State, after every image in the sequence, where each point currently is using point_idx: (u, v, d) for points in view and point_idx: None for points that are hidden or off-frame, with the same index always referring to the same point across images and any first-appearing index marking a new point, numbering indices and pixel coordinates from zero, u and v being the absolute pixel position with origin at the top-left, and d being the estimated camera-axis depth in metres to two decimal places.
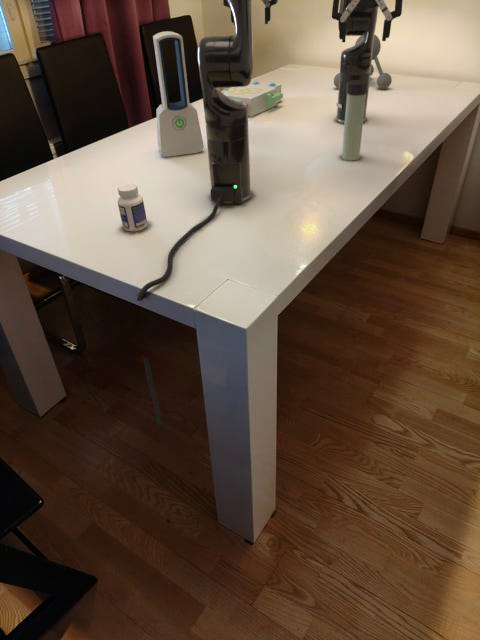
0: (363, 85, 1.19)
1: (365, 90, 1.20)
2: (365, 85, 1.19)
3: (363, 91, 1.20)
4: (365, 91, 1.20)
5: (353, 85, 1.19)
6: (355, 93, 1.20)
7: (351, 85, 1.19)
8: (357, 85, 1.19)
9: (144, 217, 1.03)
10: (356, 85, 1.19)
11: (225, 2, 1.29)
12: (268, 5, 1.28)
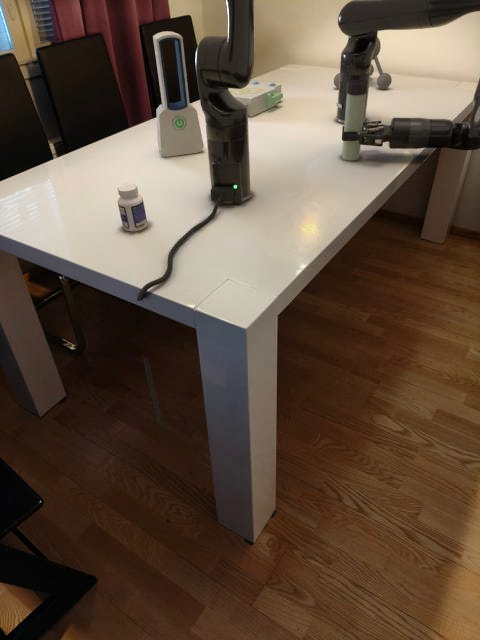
0: (363, 85, 1.19)
1: (365, 90, 1.20)
2: (365, 85, 1.19)
3: (363, 91, 1.20)
4: (365, 91, 1.20)
5: (353, 85, 1.19)
6: (355, 93, 1.20)
7: (351, 85, 1.19)
8: (357, 85, 1.19)
9: (144, 217, 1.03)
10: (356, 85, 1.19)
11: None
12: None
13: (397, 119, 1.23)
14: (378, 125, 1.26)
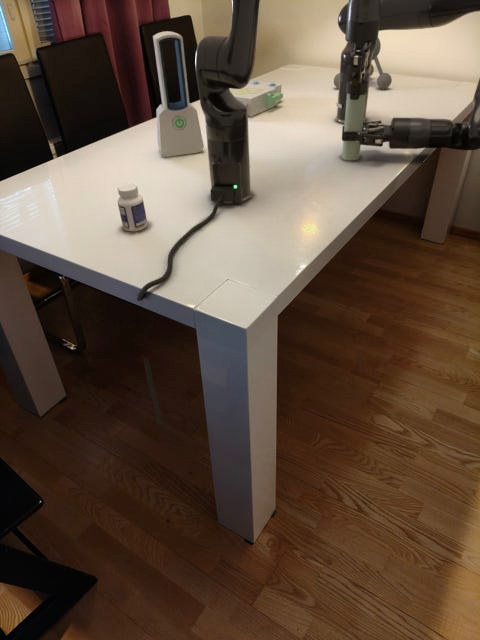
0: (363, 85, 1.19)
1: (365, 90, 1.20)
2: (365, 85, 1.19)
3: (363, 91, 1.20)
4: (365, 91, 1.20)
5: None
6: None
7: None
8: None
9: (144, 217, 1.03)
10: None
11: None
12: None
13: (397, 119, 1.23)
14: (378, 125, 1.26)
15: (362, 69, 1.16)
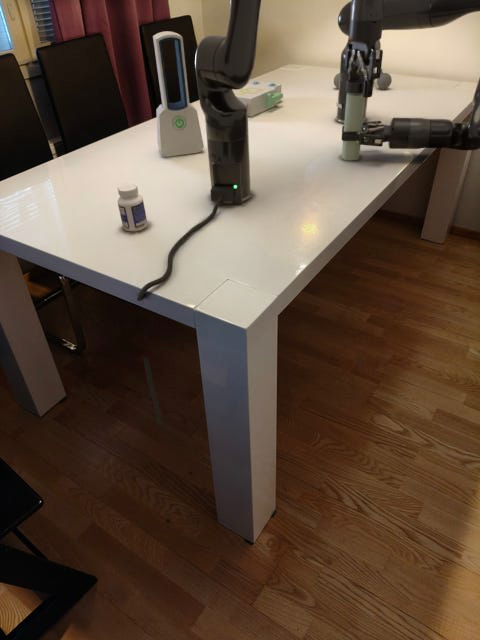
0: None
1: None
2: None
3: None
4: None
5: None
6: None
7: None
8: None
9: (144, 217, 1.03)
10: None
11: (345, 65, 1.22)
12: (365, 79, 1.15)
13: (397, 119, 1.23)
14: (378, 125, 1.27)
15: None
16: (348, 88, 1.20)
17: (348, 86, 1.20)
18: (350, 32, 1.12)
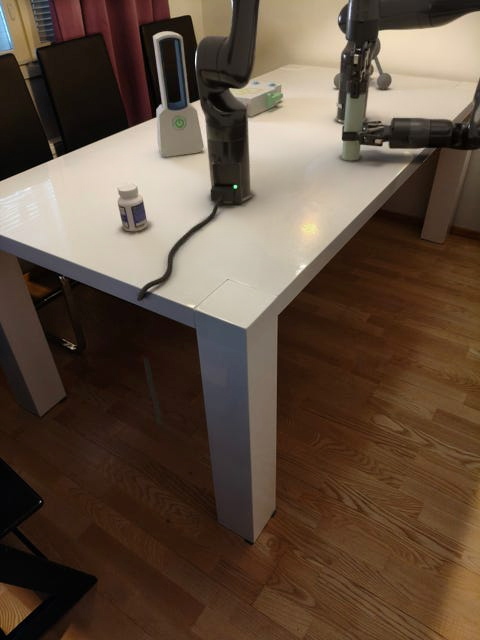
0: None
1: None
2: None
3: None
4: None
5: (366, 82, 1.19)
6: (366, 89, 1.21)
7: (365, 83, 1.19)
8: (367, 81, 1.20)
9: (144, 217, 1.03)
10: (367, 82, 1.20)
11: None
12: None
13: (397, 119, 1.23)
14: (378, 125, 1.27)
15: (362, 68, 1.15)
16: (348, 88, 1.20)
17: (348, 86, 1.20)
18: None
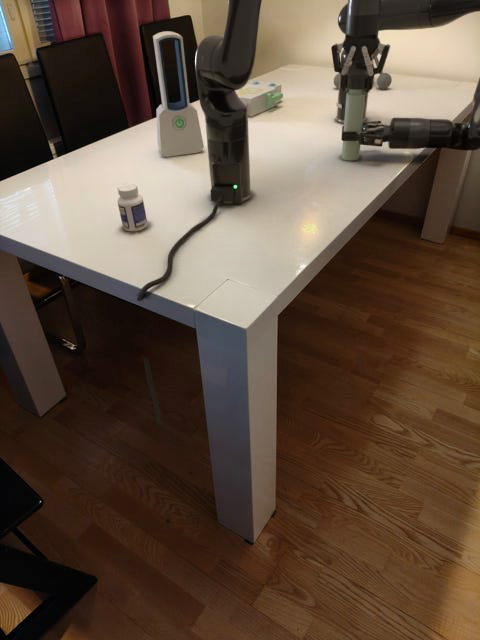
0: None
1: None
2: None
3: None
4: None
5: None
6: None
7: None
8: None
9: (144, 217, 1.03)
10: None
11: (336, 68, 1.19)
12: (371, 74, 1.17)
13: (397, 119, 1.23)
14: (378, 125, 1.27)
15: (372, 60, 1.18)
16: (363, 84, 1.19)
17: (363, 83, 1.18)
18: (358, 28, 1.10)
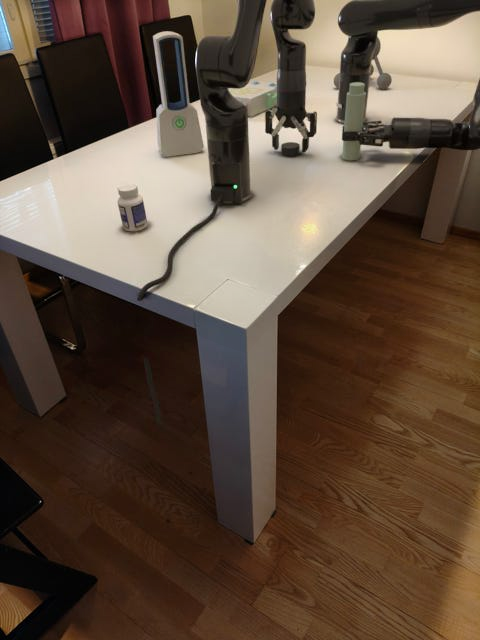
0: None
1: None
2: None
3: None
4: None
5: None
6: None
7: None
8: None
9: (144, 217, 1.03)
10: None
11: (267, 130, 1.34)
12: (305, 137, 1.31)
13: (397, 119, 1.23)
14: (378, 125, 1.26)
15: (305, 125, 1.32)
16: (294, 152, 1.34)
17: (294, 151, 1.34)
18: (286, 102, 1.25)
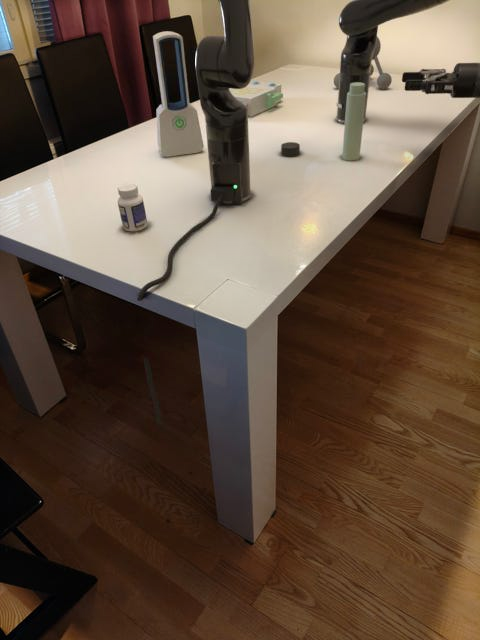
0: None
1: None
2: None
3: None
4: None
5: None
6: None
7: None
8: None
9: (144, 217, 1.03)
10: None
11: None
12: None
13: (462, 64, 1.14)
14: (440, 72, 1.17)
15: None
16: (294, 152, 1.34)
17: (294, 151, 1.34)
18: None
